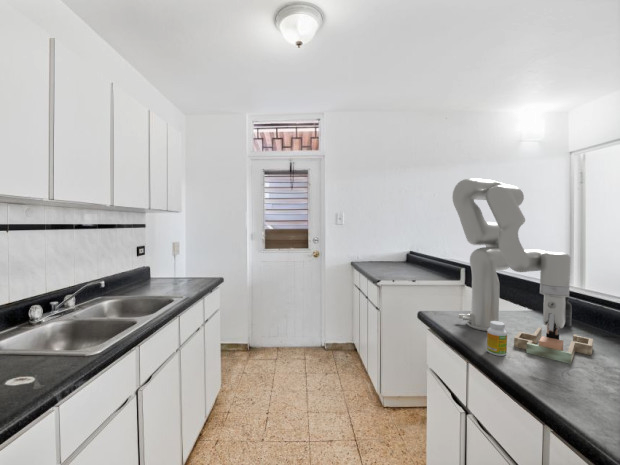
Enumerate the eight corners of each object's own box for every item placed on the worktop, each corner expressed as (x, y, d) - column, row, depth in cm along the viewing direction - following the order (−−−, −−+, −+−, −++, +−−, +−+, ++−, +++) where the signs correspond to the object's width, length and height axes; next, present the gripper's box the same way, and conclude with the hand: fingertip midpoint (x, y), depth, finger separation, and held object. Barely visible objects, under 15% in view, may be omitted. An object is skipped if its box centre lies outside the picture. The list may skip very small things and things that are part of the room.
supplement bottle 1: (499, 357, 96) (500, 326, 96) (483, 351, 101) (484, 321, 100) (510, 354, 99) (511, 324, 98) (493, 347, 103) (494, 319, 103)
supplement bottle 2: (567, 323, 128) (569, 294, 128) (573, 328, 122) (574, 298, 121) (547, 320, 131) (548, 292, 130) (552, 325, 125) (553, 296, 124)
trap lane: (511, 349, 102) (512, 340, 102) (525, 332, 117) (525, 324, 117) (589, 368, 89) (589, 358, 89) (592, 346, 104) (593, 338, 104)
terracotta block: (538, 354, 98) (538, 340, 98) (541, 349, 102) (541, 336, 102) (560, 360, 94) (561, 345, 94) (562, 354, 98) (563, 340, 98)
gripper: (566, 296, 93) (564, 356, 94) (571, 288, 104) (569, 342, 105) (536, 292, 98) (534, 349, 99) (543, 284, 109) (541, 336, 110)
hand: (552, 345), depth 102 cm, fingers closed
